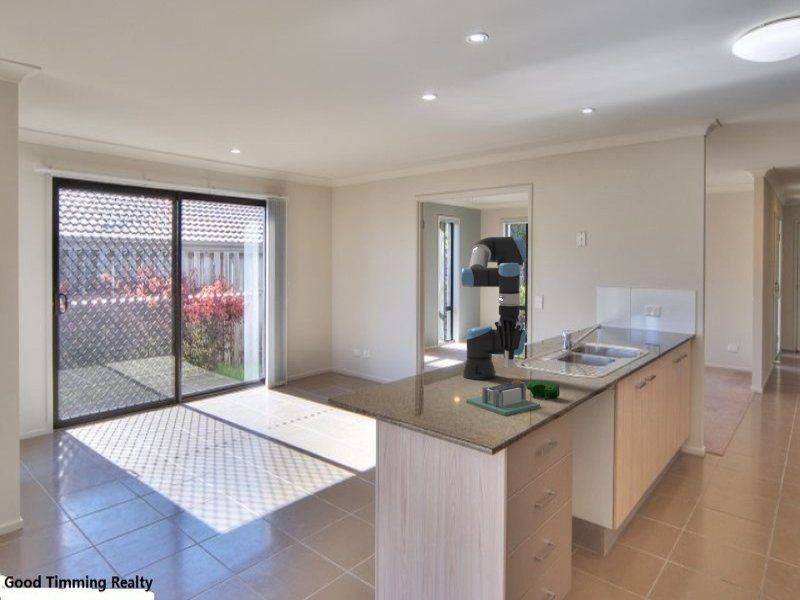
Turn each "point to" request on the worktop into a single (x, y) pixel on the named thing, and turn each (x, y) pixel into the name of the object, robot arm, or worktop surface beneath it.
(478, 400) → the board
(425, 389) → the worktop surface
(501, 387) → the grey flat bar
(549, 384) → the clamp
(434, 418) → the worktop surface
